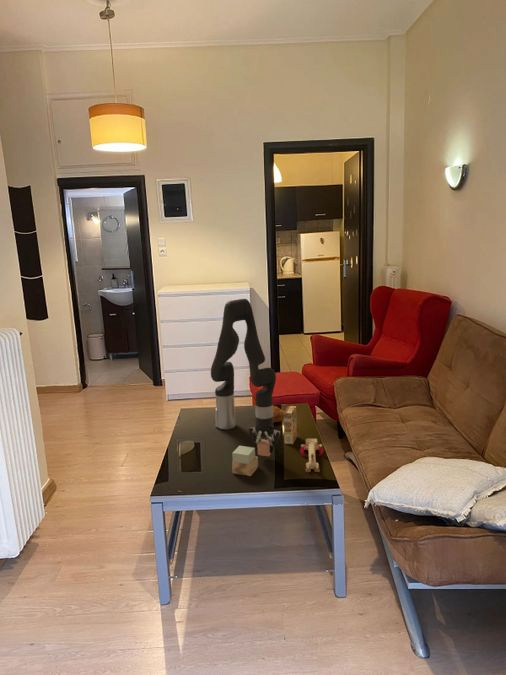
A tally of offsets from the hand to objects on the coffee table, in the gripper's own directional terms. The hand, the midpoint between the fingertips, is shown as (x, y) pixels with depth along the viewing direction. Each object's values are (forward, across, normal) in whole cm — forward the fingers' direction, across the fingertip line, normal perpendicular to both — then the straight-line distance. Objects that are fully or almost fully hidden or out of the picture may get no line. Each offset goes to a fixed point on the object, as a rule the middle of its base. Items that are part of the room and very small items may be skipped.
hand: (265, 451), depth 210 cm
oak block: (+4, -5, -11) cm, 13 cm away
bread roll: (+5, -14, +44) cm, 46 cm away
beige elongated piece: (+4, +18, +7) cm, 20 cm away
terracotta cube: (+1, 0, 0) cm, 1 cm away
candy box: (+4, +4, +22) cm, 22 cm away
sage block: (-1, -5, -11) cm, 12 cm away
